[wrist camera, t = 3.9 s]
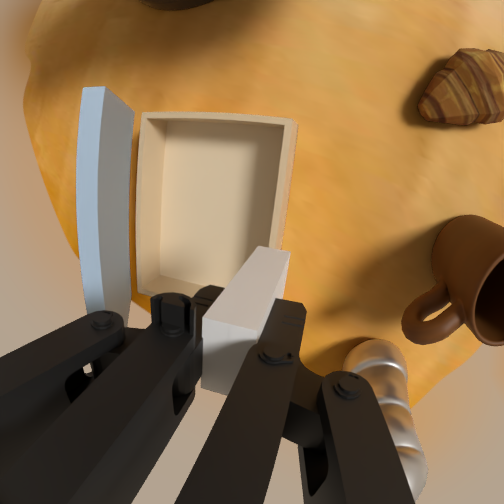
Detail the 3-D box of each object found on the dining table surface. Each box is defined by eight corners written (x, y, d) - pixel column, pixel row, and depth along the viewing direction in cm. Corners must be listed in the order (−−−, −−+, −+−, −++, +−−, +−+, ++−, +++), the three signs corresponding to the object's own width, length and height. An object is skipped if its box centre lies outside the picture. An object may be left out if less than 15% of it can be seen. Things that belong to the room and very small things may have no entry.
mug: (398, 322, 25) (418, 389, 17) (373, 252, 24) (394, 303, 15) (501, 273, 21) (550, 319, 12) (486, 199, 20) (547, 224, 11)
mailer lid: (134, 111, 20) (122, 111, 20) (105, 86, 10) (83, 87, 9) (131, 295, 26) (121, 295, 26) (120, 391, 15) (105, 390, 15)
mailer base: (166, 116, 25) (141, 112, 21) (298, 125, 22) (292, 118, 19) (158, 276, 30) (137, 292, 26) (272, 303, 28) (263, 325, 24)
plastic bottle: (345, 385, 29) (329, 561, 10) (336, 335, 27) (318, 540, 9) (402, 375, 27) (424, 549, 8) (401, 323, 25) (446, 521, 7)
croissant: (436, 153, 20) (460, 153, 16) (395, 81, 19) (410, 65, 15) (529, 100, 15) (557, 95, 11) (494, 37, 14) (518, 22, 10)
